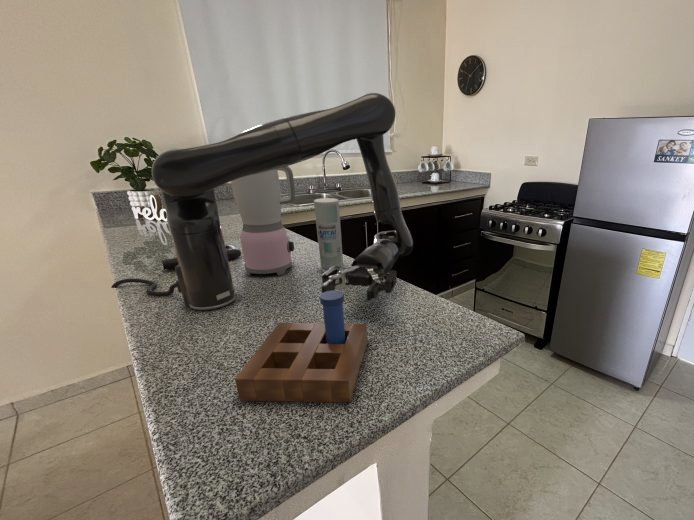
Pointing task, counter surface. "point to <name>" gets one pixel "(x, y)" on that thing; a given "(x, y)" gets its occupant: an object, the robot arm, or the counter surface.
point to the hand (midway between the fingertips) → (346, 293)
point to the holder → (303, 365)
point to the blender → (264, 221)
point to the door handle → (230, 250)
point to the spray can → (329, 233)
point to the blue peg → (333, 316)
